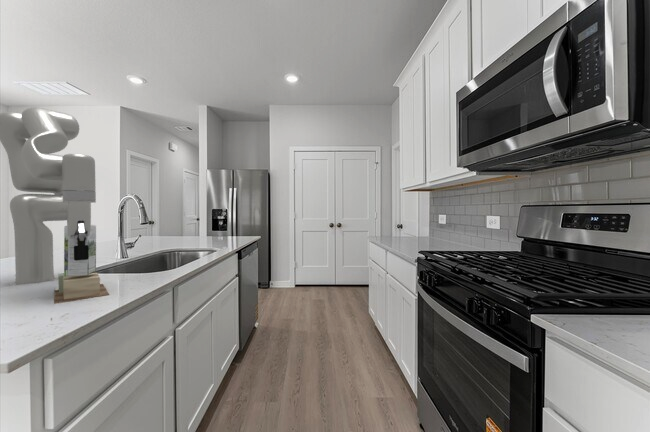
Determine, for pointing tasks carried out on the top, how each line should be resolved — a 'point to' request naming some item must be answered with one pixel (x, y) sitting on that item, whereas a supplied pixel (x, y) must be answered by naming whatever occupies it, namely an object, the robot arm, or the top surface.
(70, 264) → the syrup box
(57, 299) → the board
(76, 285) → the base block
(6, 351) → the top surface
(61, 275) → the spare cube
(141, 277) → the top surface
